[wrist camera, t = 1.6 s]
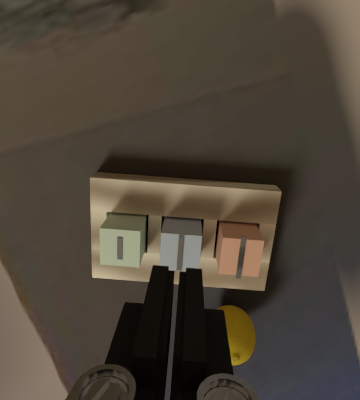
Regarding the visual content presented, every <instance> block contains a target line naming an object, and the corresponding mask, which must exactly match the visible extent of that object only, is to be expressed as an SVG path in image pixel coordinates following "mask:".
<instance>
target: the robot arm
mask: <svg viewBox="0 0 360 400" xmlns="http://www.w3.org/2000/svg"><path fill="white" fill-rule="evenodd" d="M174 273H175V271H169V266H159V265H153V267H152V271H151V275H150V279H149V284H148V288H147V292H146V296H145V301H144V304H142V303H129V302H126V303H125V304H124V306H123V309H122V312H121V316H120V319H119V322H118V325H117V328H116V331H115V334H114V337H113V340H112V343H111V346H110V349H109V352H108V355H107V358H106V361H105V364H104V365H98V366H96V367H93V368H91V369H89V370H88V371H86V372H85V373H84V374H82V375H81V376H80V377H79V379H78V380H77V381H76V382H75V384H74V386H73V387H72V389H71V391H70V393H69V394H68V396H67V398H66V399H65V400H164V397H165V387H166V376H167V365H168V355H169V344H170V331H171V317H172V302H173V288H174ZM170 400H259V398H258V396H257V394H256V393H255V391H254V389H253V388H252V387H251V386H250V385H249V384H248V383H247V382H245V381H244V380H242V379H241V378H239V377H237V376H234V375H233V368H232V362H231V355H230V348H229V341H228V334H227V327H226V320H225V314H224V311H223V310H216V309H204V296H203V277H202V269H197V268H186V272H181V271H180V274H179V287H178V301H177V314H176V327H175V341H174V354H173V367H172V381H171V394H170Z"/></svg>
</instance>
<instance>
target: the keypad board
mask: <svg viewBox="0 0 360 400" xmlns="http://www.w3.org/2000/svg"><path fill="white" fill-rule="evenodd" d="M281 194H282V191H281V190H280V189H279V188H278V187H277V186H276V185H266V184H252V183H239V182H225V181H212V180H198V179H185V178H171V177H158V176H144V175H131V174H117V173H104V172H96V173H95V174H94V175H92V176H91V177H90V203H91V244H92V277H93V278H106V279H118V280H131V281H143V282H149V279H150V275H151V271H152V267H153V265H159V262H160V243H161V231H162V226H163V216H168V217H181V218H194V219H203V222H202V243H201V254H200V264H199V269H202V277H203V286H206V287H219V288H232V289H244V290H257V291H265V285H266V279H267V273H268V268H269V262H270V256H271V251H272V245H273V239H274V234H275V228H276V222H277V216H278V211H279V205H280V199H281ZM111 212H115V213H128V214H141V215H149V220H148V243H146V248H145V251H144V254H143V258H142V261H141V264H140V267H139V268H138V267H125V266H112V265H100V227H101V225H102V224H103V223H104V221H105V220H106V218H107V217H108V215H109V214H110V213H111ZM217 220H220V221H233V222H247V223H256V225H257V227H258V229H259V231H260V233H261V235H262V237H263V239H264V246H263V252H262V258H261V264H260V270H259V276H258V277H252V276H241V279H237V278H236V275H227V274H218V267H217V260H216V248H214V245H215V236H216V227H217ZM169 271H175V273H174V284H179V274H180V271H176V270H169ZM181 272H186V271H181Z"/></svg>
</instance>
